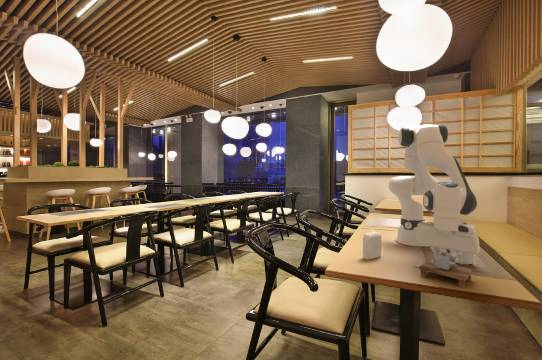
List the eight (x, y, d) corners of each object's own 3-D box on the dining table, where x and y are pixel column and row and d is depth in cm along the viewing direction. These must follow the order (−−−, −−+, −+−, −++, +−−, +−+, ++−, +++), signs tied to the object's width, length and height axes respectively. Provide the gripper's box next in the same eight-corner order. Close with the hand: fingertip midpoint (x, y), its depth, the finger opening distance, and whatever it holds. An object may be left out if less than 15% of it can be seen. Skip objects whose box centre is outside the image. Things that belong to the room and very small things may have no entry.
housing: (435, 266, 102) (435, 251, 102) (442, 261, 109) (443, 246, 109) (448, 270, 99) (449, 254, 98) (455, 263, 106) (456, 249, 105)
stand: (428, 269, 113) (428, 259, 113) (472, 279, 102) (472, 269, 102) (418, 276, 105) (419, 266, 105) (465, 288, 94) (465, 277, 94)
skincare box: (473, 264, 120) (474, 231, 119) (460, 264, 119) (461, 231, 119) (459, 258, 128) (460, 227, 128) (446, 258, 128) (447, 227, 127)
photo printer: (374, 254, 133) (375, 229, 133) (382, 257, 129) (382, 231, 129) (361, 258, 127) (361, 232, 127) (368, 260, 124) (369, 233, 123)
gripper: (414, 221, 109) (413, 255, 109) (477, 229, 94) (476, 268, 94) (420, 219, 113) (419, 252, 113) (481, 227, 98) (479, 264, 98)
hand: (445, 259), depth 104 cm, fingers closed on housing, 4 cm apart
